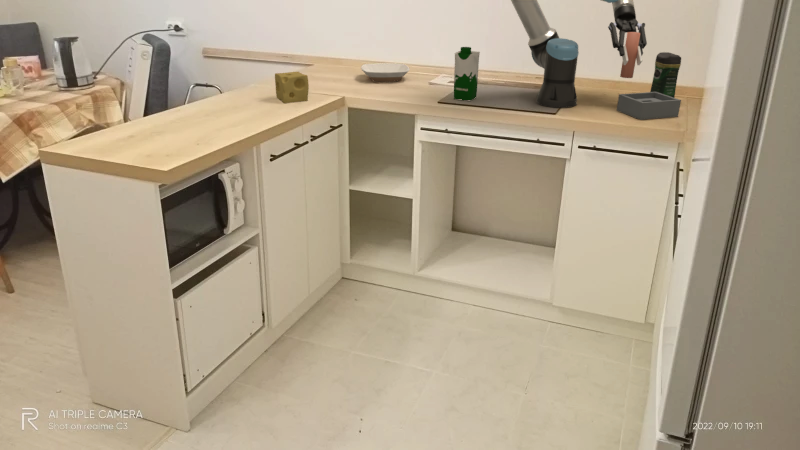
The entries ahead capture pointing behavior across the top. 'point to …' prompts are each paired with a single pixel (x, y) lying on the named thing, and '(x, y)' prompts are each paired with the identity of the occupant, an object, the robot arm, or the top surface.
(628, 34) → the peg
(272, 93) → the top surface
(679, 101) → the box
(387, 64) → the bowl
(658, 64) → the coffee jar
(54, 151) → the top surface
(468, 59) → the milk carton
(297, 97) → the cheese
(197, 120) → the top surface
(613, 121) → the top surface
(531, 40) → the robot arm
